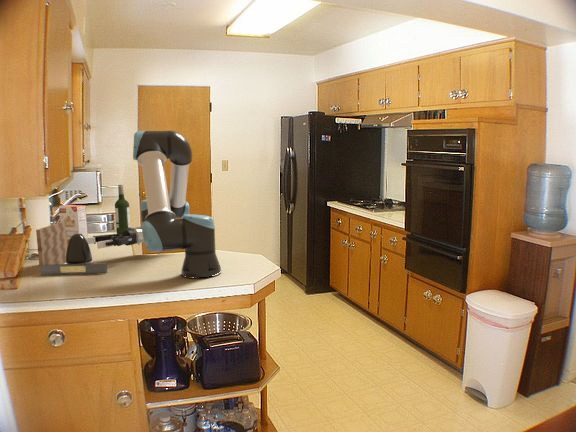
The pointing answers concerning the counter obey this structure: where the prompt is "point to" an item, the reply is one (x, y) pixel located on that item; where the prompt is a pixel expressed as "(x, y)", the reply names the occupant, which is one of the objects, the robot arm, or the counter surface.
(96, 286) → the counter surface
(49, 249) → the shelf side panel
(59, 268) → the price rail
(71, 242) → the black rounded dome
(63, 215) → the cracker box
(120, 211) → the wine bottle
